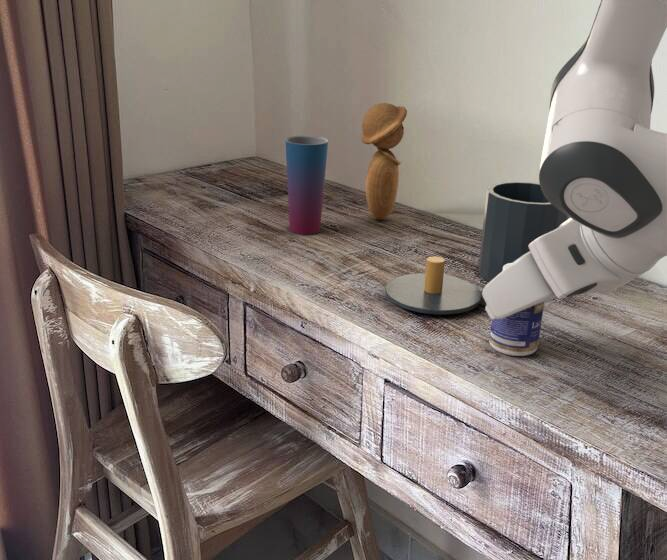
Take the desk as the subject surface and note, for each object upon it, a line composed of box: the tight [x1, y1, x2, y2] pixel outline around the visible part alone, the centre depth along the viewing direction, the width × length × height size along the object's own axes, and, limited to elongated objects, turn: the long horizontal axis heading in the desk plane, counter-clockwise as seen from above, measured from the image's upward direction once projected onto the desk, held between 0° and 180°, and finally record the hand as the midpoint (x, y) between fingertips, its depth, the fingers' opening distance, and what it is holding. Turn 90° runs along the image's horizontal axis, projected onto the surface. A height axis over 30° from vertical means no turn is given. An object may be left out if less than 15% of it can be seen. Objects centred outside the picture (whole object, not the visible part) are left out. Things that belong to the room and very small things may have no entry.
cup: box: [284, 134, 329, 236], centre depth 132 cm, size 7×7×15 cm
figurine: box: [360, 102, 408, 220], centre depth 137 cm, size 9×7×20 cm
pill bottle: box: [488, 263, 546, 357], centre depth 95 cm, size 6×6×10 cm
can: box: [478, 180, 570, 283], centre depth 116 cm, size 12×12×12 cm
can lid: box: [384, 255, 482, 316], centre depth 108 cm, size 13×13×6 cm
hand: (513, 303), depth 95 cm, fingers open, 7 cm apart
